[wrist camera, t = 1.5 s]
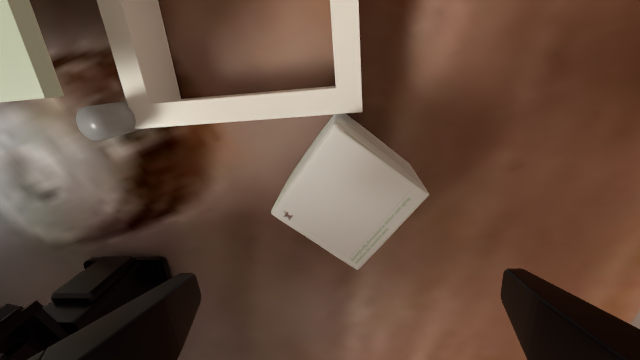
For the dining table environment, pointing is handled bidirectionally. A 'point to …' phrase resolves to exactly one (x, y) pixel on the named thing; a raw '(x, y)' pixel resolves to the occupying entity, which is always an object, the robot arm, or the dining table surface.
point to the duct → (170, 110)
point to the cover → (24, 56)
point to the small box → (349, 192)
